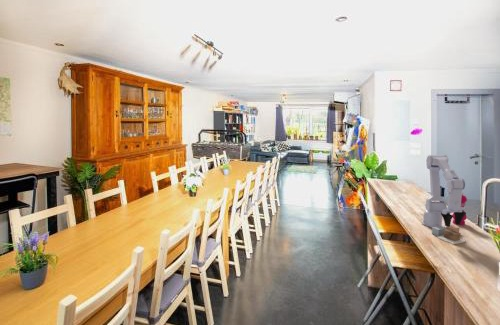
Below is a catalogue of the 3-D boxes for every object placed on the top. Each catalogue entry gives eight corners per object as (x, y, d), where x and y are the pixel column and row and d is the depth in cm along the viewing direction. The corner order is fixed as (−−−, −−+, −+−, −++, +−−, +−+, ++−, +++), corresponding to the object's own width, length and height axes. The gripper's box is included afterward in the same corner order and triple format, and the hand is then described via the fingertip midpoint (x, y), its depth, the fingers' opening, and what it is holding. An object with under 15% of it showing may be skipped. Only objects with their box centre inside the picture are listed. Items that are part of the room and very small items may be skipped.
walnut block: (443, 237, 158) (444, 230, 157) (449, 235, 159) (449, 229, 159) (454, 241, 152) (455, 234, 152) (459, 240, 154) (460, 232, 153)
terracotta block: (452, 235, 162) (453, 228, 161) (445, 233, 166) (445, 226, 165) (459, 233, 165) (459, 226, 164) (451, 231, 168) (452, 224, 168)
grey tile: (437, 238, 159) (437, 236, 159) (449, 235, 162) (449, 234, 161) (453, 244, 150) (453, 242, 150) (465, 241, 153) (465, 240, 153)
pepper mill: (452, 220, 185) (454, 190, 182) (466, 223, 180) (468, 192, 177) (451, 223, 179) (453, 192, 176) (465, 226, 175) (468, 194, 172)
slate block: (437, 236, 161) (438, 229, 161) (431, 233, 165) (432, 227, 164) (446, 235, 163) (446, 228, 162) (439, 232, 167) (440, 226, 166)
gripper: (451, 204, 147) (449, 229, 149) (471, 201, 151) (469, 225, 153) (439, 200, 153) (437, 225, 155) (458, 198, 158) (456, 221, 160)
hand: (452, 225), depth 155 cm, fingers open, 7 cm apart
